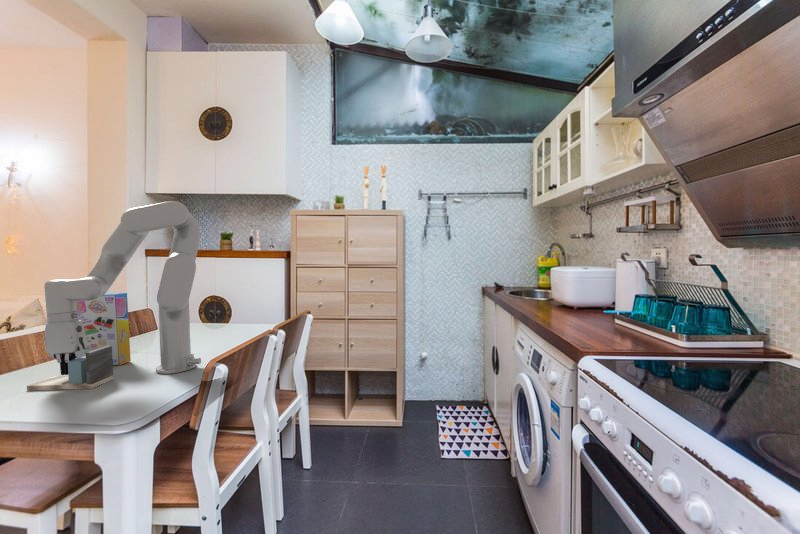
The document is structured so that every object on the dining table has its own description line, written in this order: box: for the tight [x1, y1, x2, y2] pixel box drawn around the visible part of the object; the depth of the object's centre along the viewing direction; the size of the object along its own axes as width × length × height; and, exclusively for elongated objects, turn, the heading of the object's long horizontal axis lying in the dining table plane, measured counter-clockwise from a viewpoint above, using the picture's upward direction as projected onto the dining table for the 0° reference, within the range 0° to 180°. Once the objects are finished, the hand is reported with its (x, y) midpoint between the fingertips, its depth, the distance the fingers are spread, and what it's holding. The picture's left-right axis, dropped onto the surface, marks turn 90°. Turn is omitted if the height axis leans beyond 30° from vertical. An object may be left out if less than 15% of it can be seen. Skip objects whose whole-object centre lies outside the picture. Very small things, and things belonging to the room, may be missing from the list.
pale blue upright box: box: [67, 356, 87, 384], centre depth 122 cm, size 4×7×7 cm, turn 1°
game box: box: [76, 292, 132, 366], centre depth 145 cm, size 21×6×27 cm, turn 84°
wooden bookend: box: [26, 346, 114, 391], centre depth 122 cm, size 20×9×12 cm, turn 91°
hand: (67, 373), depth 122 cm, fingers closed
